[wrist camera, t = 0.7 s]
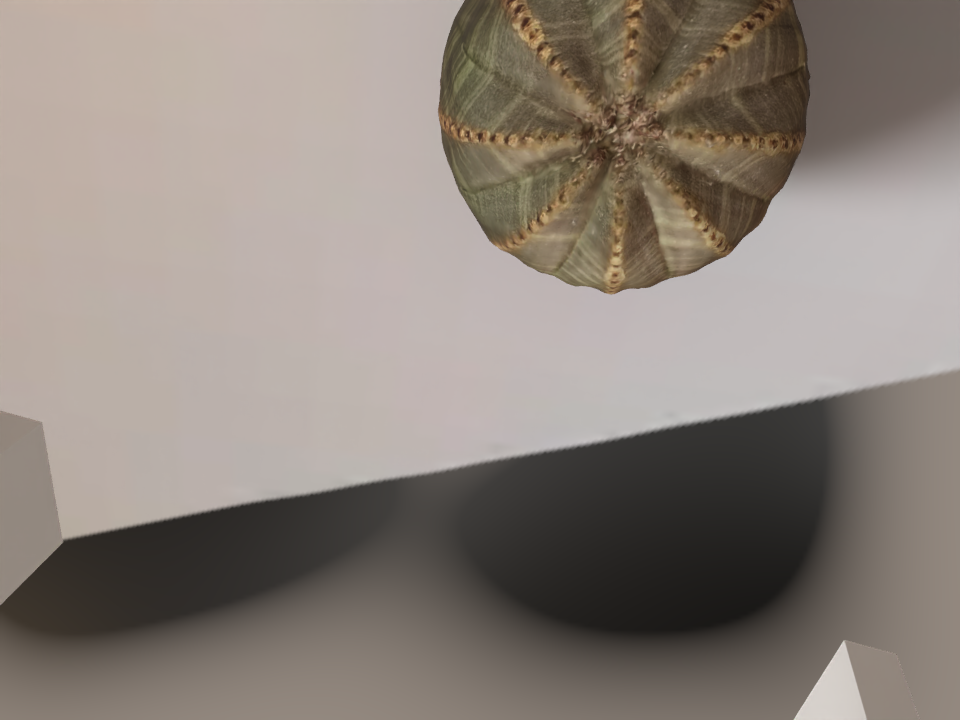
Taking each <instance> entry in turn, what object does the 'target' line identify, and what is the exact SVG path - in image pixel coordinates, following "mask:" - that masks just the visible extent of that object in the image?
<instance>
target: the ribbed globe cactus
mask: <svg viewBox="0 0 960 720" xmlns="http://www.w3.org/2000/svg"><path fill="white" fill-rule="evenodd" d="M809 79H810V74H809V71H808V67H807V47H806V43H805V40H804V36H803V32H802V28H801V24H800V22H799V20H798V18H797V15H796V11H795V7H794V4H793V0H465V1H464V3H463V5H462V6H461V8H460V10H459V12H458V13H457V15H456V17H455V19H454V22H453V25H452V27H451V30H450V33H449V36H448V40H447V43H446V47H445V51H444V56H443V63H442V72H441V79H440V86H441V89H440V102H439V108H438V113H439V120H440V125H441V133H442V143H443V148H444V151H445V154H446V157H447V160H448V163H449V165H450V168H451V170H452V173H453V175H454V178H455V181H456V184H457V186H458V189H459V191H460V193H461V195H462V196H463V198H464V199H465V201H466V203H467V205H468V206H469V208H470V210H471V211H472V213H473V214H474V216H475V217H476V219H477V221H478V222H479V224H480V226H481V228H482V229H483V231H484V233H485V234H486V236H487V237H488V239H489V241H491V242H492V244H494V245H495V246H497V247H498V248H499V249H501V250H503V251H505V252H508V253H510V254H512V255H513V256H515V257H517V258H518V259H519V260H520V261H522V262H523V263H524V264H525V265H527V266H529V267H531V268H533V269H535V270H537V271H538V272H541V273H546V274H549V275H553V276H555V277H557V278H559V279H560V280H562V281H564V282H565V283H568V284H570V285H573V286H587V287H592V288H596V289H598V290H600V291H602V292H604V293H607V294H615V293H618V292H620V291H622V290H625V289H629V288H636V289H639V288H648V287H651V286H654V285H656V284H657V283H659V282H661V281H664V280H666V279H669V278H673V277H678V276H683V275H684V276H685V275H688V274H691V273H693V272H695V271H697V270H699V269H701V268H702V267H704V266H706V265H708V264H710V263H712V262H714V261H715V260H718V259H720V258H723V257H726V256H727V255H728V254H730V253H731V252H732V251H733V249H734V248H735V247H736V246H737V245H738V244H739V242H740V241H741V240H742V239H743V238H744V237H745V236H746V235H747V234H749V233H750V232H751V231H753V230H754V229H755V228H756V227H757V226H758V225H759V224H760V223H761V221H762V220H763V218H764V216H765V214H766V212H767V209H768V206H769V204H770V202H771V200H772V198H773V197H774V196H775V195H776V194H777V193H778V192H779V191H780V190H781V189H782V188H783V186H784V184H785V183H786V181H787V179H788V177H789V175H790V173H791V170H792V168H793V166H794V163H795V161H796V159H797V157H798V155H799V153H800V151H801V148H802V145H803V141H804V138H805V135H806V110H807V105H808V101H809V96H810V90H809V82H808V81H809Z"/></svg>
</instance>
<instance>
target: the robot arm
mask: <svg viewBox="0 0 960 720" xmlns="http://www.w3.org/2000/svg"><path fill="white" fill-rule="evenodd" d="M62 543H63V540H62V535H61V529H60V523H59V517H58V512H57V506H56V500H55V494H54V489H53V483H52V477H51V471H50V466H49V460H48V454H47V448H46V443H45V437H44V431H43V426H42V422H39V421H36V420H32V419H28V418H25V417H21V416H17V415H14V414H10V413H6V412H3V411H0V605H1V604H2V603H3V602H4V601H5V600H6V599H7V598H8V597H9V595H10V594H12V593H13V592H14V591H15V590H16V588H18V587H19V586H20V584H22V583H23V582H24V581H25V580H26V579H27V577H29V576H30V575H31V574H32V573H33V571H35V570H36V569H37V567H38V566H40V565H41V564H42V563H43V562H44V561H45V560H46V559H47V558H48V557H49V556H50V555H51V554H52V553H53V552H54V550H56V549H57V547H59V546H60V544H62ZM794 720H920V719H919V716H918V713H917V711H916V708H915V705H914V702H913V700H912V696H911V694H910V691H909V688H908V685H907V682H906V680H905V677H904V674H903V671H902V668H901V665H900V663H899V660H898V657H897V654H894V653H891V652H887V651H883V650H879V649H876V648H872V647H869V646H865V645H861V644H858V643H853V642H850V641H846V640H844V641H843V643H842V644H841V646H840V647H839V649H838V651H837V652H836V654H835V655H834V657H833V659H832V660H831V662H830V663H829V665H828V667H827V668H826V670H825V671H824V673H823V674H822V676H821V677H820V679H819V681H818V682H817V684H816V685H815V687H814V688H813V690H812V692H811V693H810V695H809V696H808V698H807V700H806V701H805V703H804V704H803V706H802V707H801V709H800V711H799V712H798V714H797V716H796V717H795V719H794Z"/></svg>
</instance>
